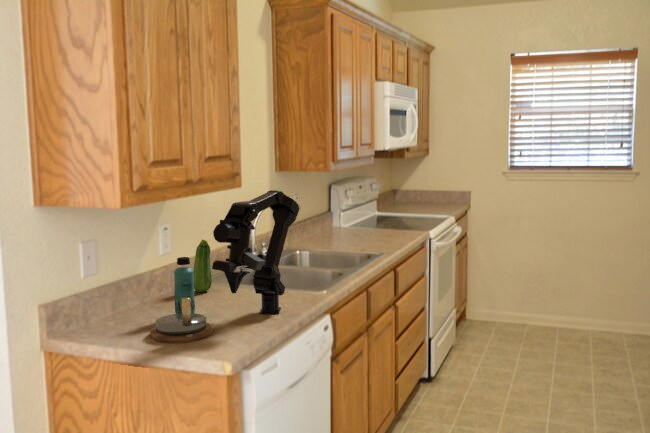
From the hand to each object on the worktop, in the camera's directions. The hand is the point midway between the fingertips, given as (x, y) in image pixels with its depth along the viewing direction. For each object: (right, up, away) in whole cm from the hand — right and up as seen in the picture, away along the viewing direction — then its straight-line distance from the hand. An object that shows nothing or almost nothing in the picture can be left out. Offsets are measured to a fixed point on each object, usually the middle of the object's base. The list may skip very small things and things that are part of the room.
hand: (233, 293), depth 209 cm
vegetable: (-18, -5, +46) cm, 49 cm away
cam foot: (-15, -10, -6) cm, 19 cm away
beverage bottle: (-17, -9, +11) cm, 22 cm away
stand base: (-15, -11, -6) cm, 20 cm away
